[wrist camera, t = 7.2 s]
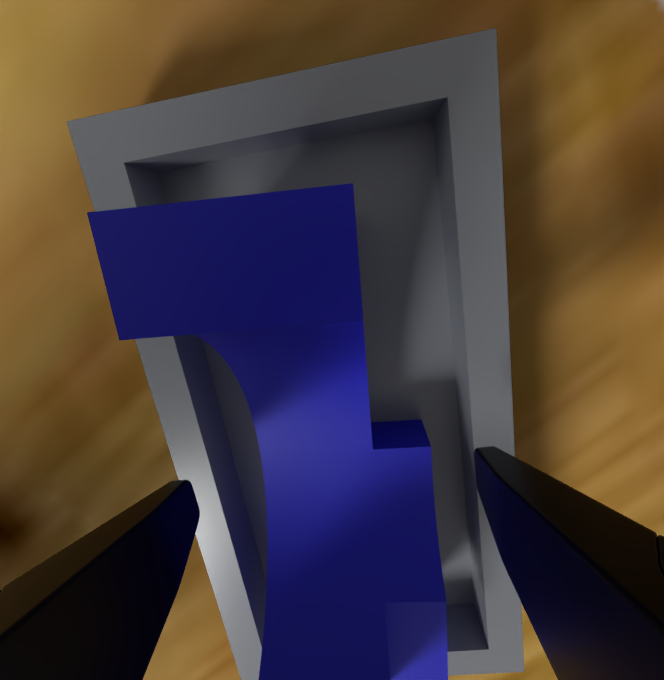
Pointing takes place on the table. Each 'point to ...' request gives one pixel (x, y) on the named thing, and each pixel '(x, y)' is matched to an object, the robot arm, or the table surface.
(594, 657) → the robot arm
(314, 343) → the blue curved cradle
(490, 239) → the tray
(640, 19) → the table surface
